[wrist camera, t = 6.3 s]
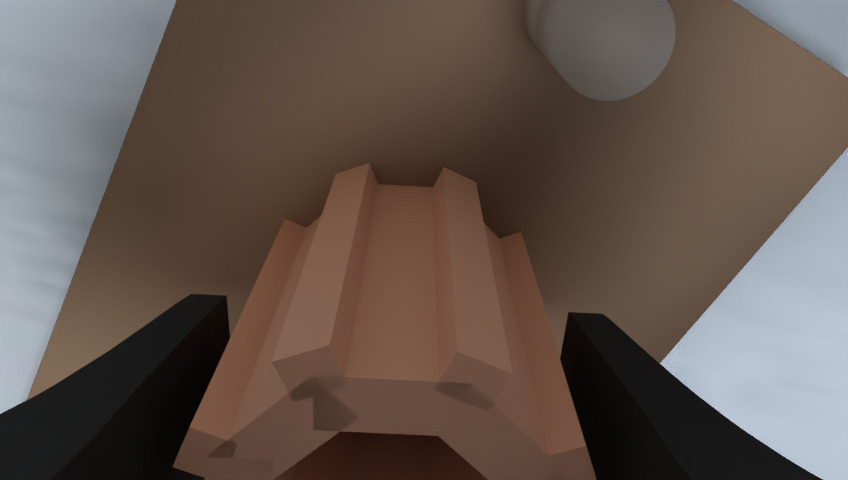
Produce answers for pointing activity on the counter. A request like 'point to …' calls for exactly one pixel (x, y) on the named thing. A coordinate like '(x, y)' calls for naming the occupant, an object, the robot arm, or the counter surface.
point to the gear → (391, 351)
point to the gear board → (461, 149)
